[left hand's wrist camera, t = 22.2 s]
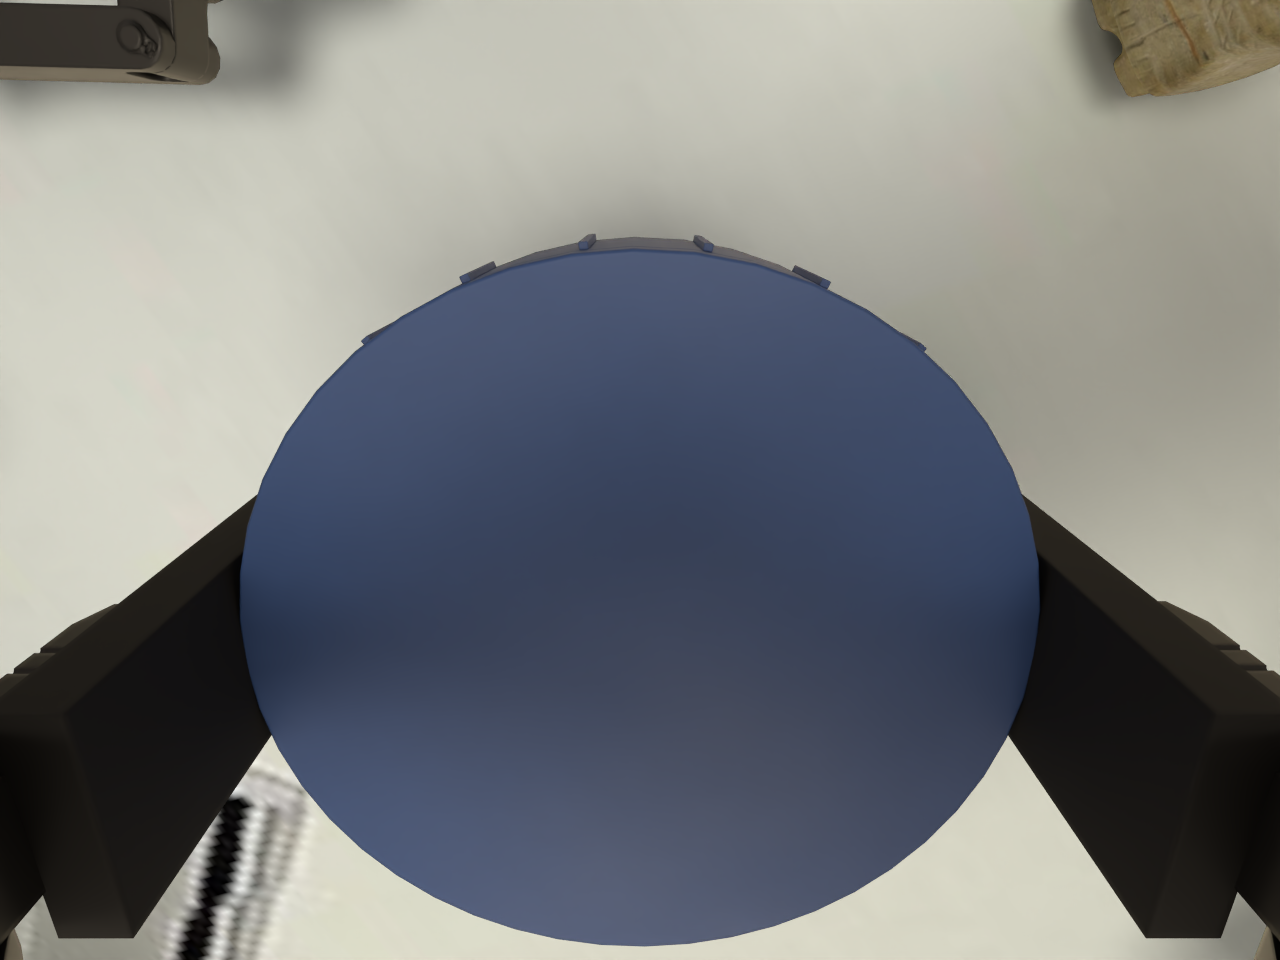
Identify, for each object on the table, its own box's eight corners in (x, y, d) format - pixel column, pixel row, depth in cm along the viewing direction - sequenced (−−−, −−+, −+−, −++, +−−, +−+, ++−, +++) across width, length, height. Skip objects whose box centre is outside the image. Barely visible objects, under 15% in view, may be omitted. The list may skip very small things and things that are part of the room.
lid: (165, 526, 12) (57, 602, 10) (707, 54, 10) (727, 12, 7) (593, 916, 15) (586, 1043, 12) (1090, 621, 12) (1186, 713, 10)
